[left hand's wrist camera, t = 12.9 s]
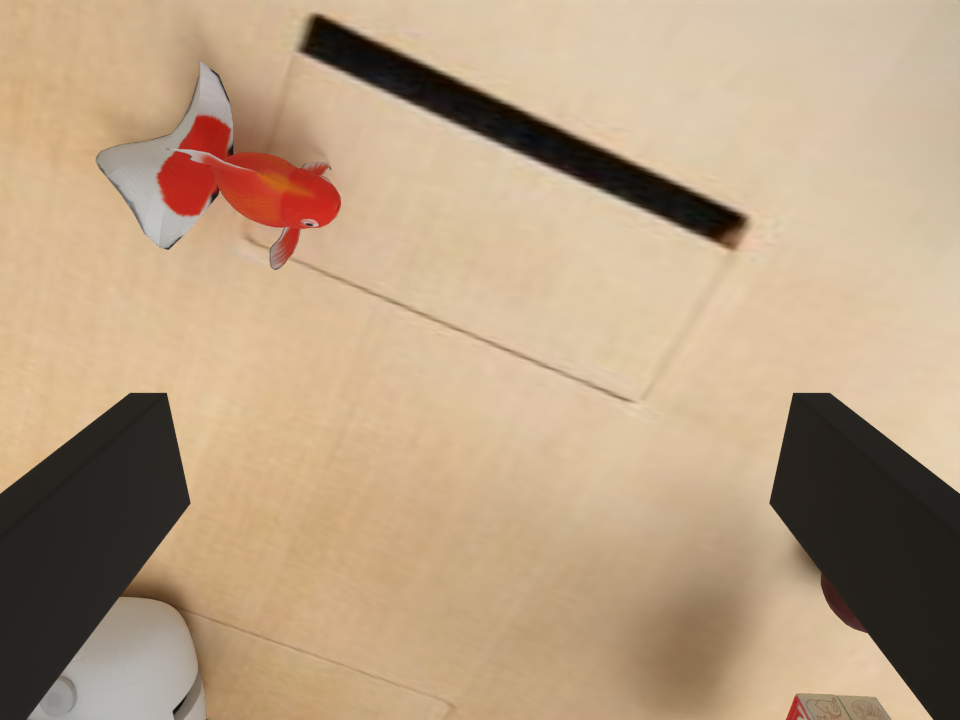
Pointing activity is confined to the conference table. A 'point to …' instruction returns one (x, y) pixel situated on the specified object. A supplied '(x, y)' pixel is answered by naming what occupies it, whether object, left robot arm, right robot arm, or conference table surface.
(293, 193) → the fish
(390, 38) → the conference table surface
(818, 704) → the stack of blocks
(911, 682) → the left robot arm
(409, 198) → the conference table surface
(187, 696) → the projector
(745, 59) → the conference table surface
